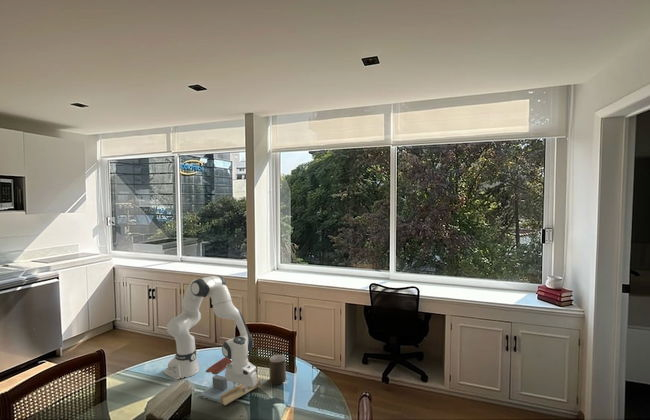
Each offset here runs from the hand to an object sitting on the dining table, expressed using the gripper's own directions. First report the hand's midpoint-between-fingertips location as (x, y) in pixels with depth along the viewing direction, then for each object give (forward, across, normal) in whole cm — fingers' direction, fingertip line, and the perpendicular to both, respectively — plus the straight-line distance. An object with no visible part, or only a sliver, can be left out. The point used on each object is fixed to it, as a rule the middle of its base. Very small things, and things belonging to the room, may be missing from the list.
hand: (241, 390), depth 191 cm
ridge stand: (+4, -16, 0) cm, 16 cm away
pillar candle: (+4, +10, +22) cm, 25 cm away
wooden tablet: (+5, -34, +26) cm, 43 cm away
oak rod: (+2, 0, 0) cm, 2 cm away
